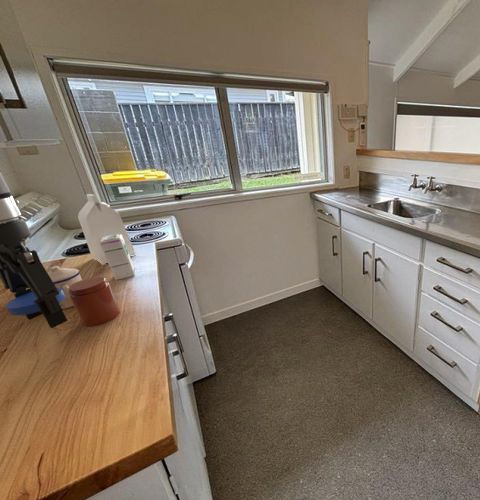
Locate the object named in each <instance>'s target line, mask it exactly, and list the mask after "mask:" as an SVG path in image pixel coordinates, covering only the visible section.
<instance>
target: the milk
mask: <svg viewBox="0 0 480 500" xmlns="http://www.w3.org/2000/svg"><path fill="white" fill-rule="evenodd" d="M85 196H86V199H87V202H86V203H85V204H84V206H83V207H82V208H81V209H80V211H78V214H77V219H78V222H79V224H80V227H81V230H82V233H83V236H84V239H85V241H86V244H87V247H88V250H89V253H90V256H91V259H92V258H94V259H95V260H97V261H98V262H100V263H101V264H105V263H108V262H107V259H106V257H105V255H104V252H103V250H102V247H101V245H100V243H99V242H100V240H101V238H102V237H106V236H110V235H116V234H122V237H123V239H124V242H125V244H126V247H127V249H128V252H129V254H130V256H131V255H135V254H136V251H135V248H134V246H133V244H132V241H131V239H130V236H129V234H128V231H127V228H126V226H125V224H124V222H123V219H122V217H121V215H120V212H118V211H117V210H116V209H114V208H112V207H110V206H111V205H110V204H108V203H107V202H104V201H101V202H100V201H99V199H98V197H97V195H96V194H92V193H87V194H85ZM136 255H137V254H136ZM136 255H135V256H136ZM95 260H94V261H95ZM97 261H96V262H97ZM98 262H97V263H98ZM100 263H99V264H100ZM101 264H100V265H101ZM105 265H106V264H105Z"/></svg>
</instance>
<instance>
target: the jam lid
mask: <svg viewBox="0 0 480 500" xmlns="http://www.w3.org/2000/svg"><path fill="white" fill-rule="evenodd" d="M56 288H57V290H58V291H59V295H56V296H55V297H56V299H57V301H58V303H60V302H61V301H62V300H64V298H65V294H64V292H63V290H62V289H61V288H58V287H56ZM46 293H47V292H46ZM35 300H37V298H36V296H35V295H34V294H33V292H30V293H27V294H24V295H21V296H19V297H17V298H12V299H11V300H10V301H8V302H7V303H6V304H5V307H6V309H7V311H8V313H9V314H10V315H11V316H18V317H19V316H26V314H31V313H35V312H39V311H41V310H40V308H39V306H38V304H37V303H36V304H35V303H34V302H33V301H35Z"/></svg>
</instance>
